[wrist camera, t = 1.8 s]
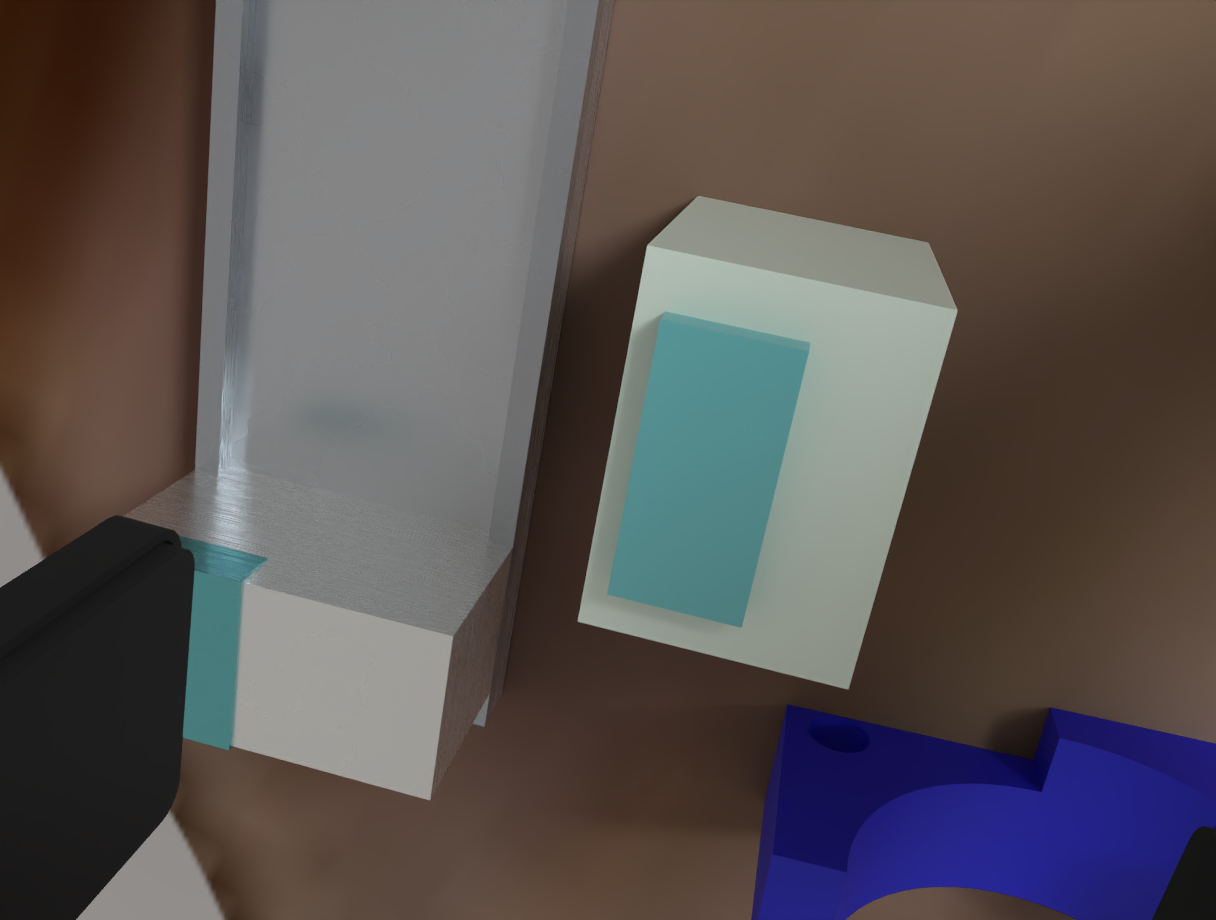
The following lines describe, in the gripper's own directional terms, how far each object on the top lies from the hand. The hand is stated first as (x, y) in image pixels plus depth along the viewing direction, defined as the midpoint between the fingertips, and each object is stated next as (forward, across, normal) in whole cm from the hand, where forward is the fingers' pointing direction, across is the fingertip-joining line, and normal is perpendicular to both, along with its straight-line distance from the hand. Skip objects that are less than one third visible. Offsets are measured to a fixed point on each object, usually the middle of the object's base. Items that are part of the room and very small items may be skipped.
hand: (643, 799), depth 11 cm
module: (+17, 0, 0) cm, 17 cm away
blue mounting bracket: (+17, -9, +9) cm, 21 cm away
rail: (+17, +9, -2) cm, 19 cm away
